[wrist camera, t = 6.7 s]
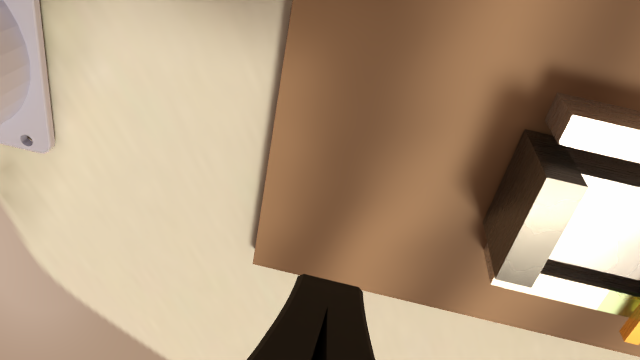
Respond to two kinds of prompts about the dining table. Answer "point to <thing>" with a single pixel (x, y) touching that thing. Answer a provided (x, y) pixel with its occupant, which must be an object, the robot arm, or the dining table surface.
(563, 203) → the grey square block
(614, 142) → the gauge body
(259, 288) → the dining table surface
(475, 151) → the walnut board
